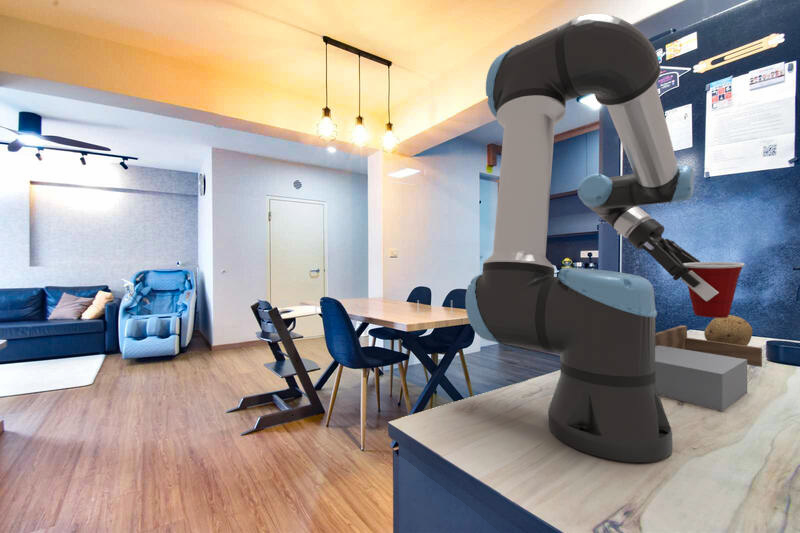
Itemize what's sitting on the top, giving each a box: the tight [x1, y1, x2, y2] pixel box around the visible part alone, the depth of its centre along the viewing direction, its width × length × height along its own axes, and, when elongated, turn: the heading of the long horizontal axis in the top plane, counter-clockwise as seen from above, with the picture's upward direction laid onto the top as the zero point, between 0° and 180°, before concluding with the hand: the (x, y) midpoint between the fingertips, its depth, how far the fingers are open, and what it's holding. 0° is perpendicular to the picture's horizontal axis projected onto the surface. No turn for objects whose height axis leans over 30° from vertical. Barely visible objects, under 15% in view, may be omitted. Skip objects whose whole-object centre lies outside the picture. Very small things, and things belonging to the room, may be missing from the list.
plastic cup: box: [683, 261, 746, 319], centre depth 80 cm, size 11×11×12 cm
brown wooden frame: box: [655, 325, 763, 367], centre depth 81 cm, size 22×15×7 cm
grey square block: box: [655, 345, 748, 412], centre depth 68 cm, size 14×14×6 cm
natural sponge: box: [703, 314, 753, 346], centre depth 92 cm, size 9×9×10 cm
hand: (720, 295), depth 79 cm, fingers closed on plastic cup, 9 cm apart
